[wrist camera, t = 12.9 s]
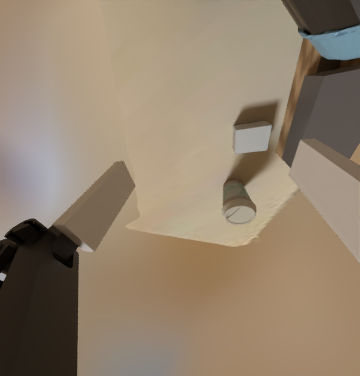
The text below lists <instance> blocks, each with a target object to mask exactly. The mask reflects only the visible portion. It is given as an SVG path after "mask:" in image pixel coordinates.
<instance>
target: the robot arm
mask: <svg viewBox="0 0 360 376" xmlns="http://www.w3.org/2000/svg"><path fill="white" fill-rule="evenodd" d="M281 1H282V2H283V4H284V5H285V7H286V8H287V10H288V12H289V13H290V15H291V16H292V18H293V19H294V21H295V23H296V24H297V26H298V32H299V34H300V35H301V36H302V37H303V38H306V39H308V40H309V41H310V42H311V44H312V45H313V46H314V48H315V49H316V50H317V51H318V53H319V54H320V55H321V56H323V57H324V58H327V59H337V60H349V59H355V58H359V57H360V0H281ZM289 176H290V177H291V179H292V180H293V181H294V182H295V184H296V185H297V186H298V187H299V189H300V190H301V191H302V192H303V193H304V195H305V196H306V197H307V198H308V200H309V201H310V202H311V203H312V204H313V206H314V207H315V208H316V209H317V211H318V212H319V213H320V214H321V216H322V217H323V218H324V219H325V220H326V222H327V223H328V224H329V226H330V227H331V228H332V229H333V230H334V232H335V233H336V234H337V235H338V237H339V238H340V239H341V240H342V242H343V243H344V244H345V245H346V246H347V248H348V249H349V250H350V251H351V253H352V254H353V255H354V256H355V258H356V259H357V260H358V261H359V263H360V165H358V164H357V163H355V162H353V161H351V160H350V159H348V158H347V157H345V156H343V155H342V154H340V153H338V152H337V151H335V150H333V149H332V148H330V147H328V146H327V145H325V144H323V143H322V142H320V141H318V140H317V139H315V138H311V139H303V140H300V142H299V145H298V148H297V151H296V154H295V157H294V160H293V163H292V166H291V169H290V172H289ZM134 187H135V184H134V182H133V180H132V178H131V176H130V174H129V172H128V170H127V167H126V165H125V163H124V161H119V162H115V163H114V164H113V165H112V166H111V167H110V168H109V169H108V170H107V171H106V172H105V173H104V174H103V175H102V176H101V177H100V178H99V179H98V180H97V181H96V182H95V183H94V184H93V185H92V186H91V187H90V188H89V189H88V190H87V191H86V192H85V193H84V194H83V195H82V196H81V197H80V198H79V199H78V200H77V201H76V202H75V203H74V204H73V205H72V206H71V207H70V208H69V209H68V210H67V211H66V212H65V213H64V214H63V215H62V216H61V217H60V218H59V219H58V220H56V221H55V223H53V225H52V226H51V227H50V228H49V229H47V228H46V227H45V226H43V225H42V224H41V223H40V222H38V221H37V220H36V219H29V220H25V221H23V222H21V223H20V224H18V225H16V226H15V227H13V228H12V229H11V230H10V231H8V232H7V234H6V235H5V236H4V237H6V238H7V239H3V240H1V241H0V273H4V274H6V278H5V280H4V281H1V280H0V376H77V342H78V341H77V340H78V266H79V265H78V264H79V257H78V256H79V254H78V252H77V251H76V249H77V248H78V246H79V247H80V248H81V249H82V250H84V251H88V252H95V250H96V249H97V247H98V246H99V244H100V242H101V241H102V239H103V237H104V236H105V234H106V233H107V231H108V229H109V228H110V226H111V225H112V223H113V221H114V220H115V218H116V216H117V215H118V213H119V212H120V210H121V208H122V207H123V205H124V204H125V202H126V200H127V199H128V197H129V196H130V194H131V192H132V191H133V189H134Z"/></svg>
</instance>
